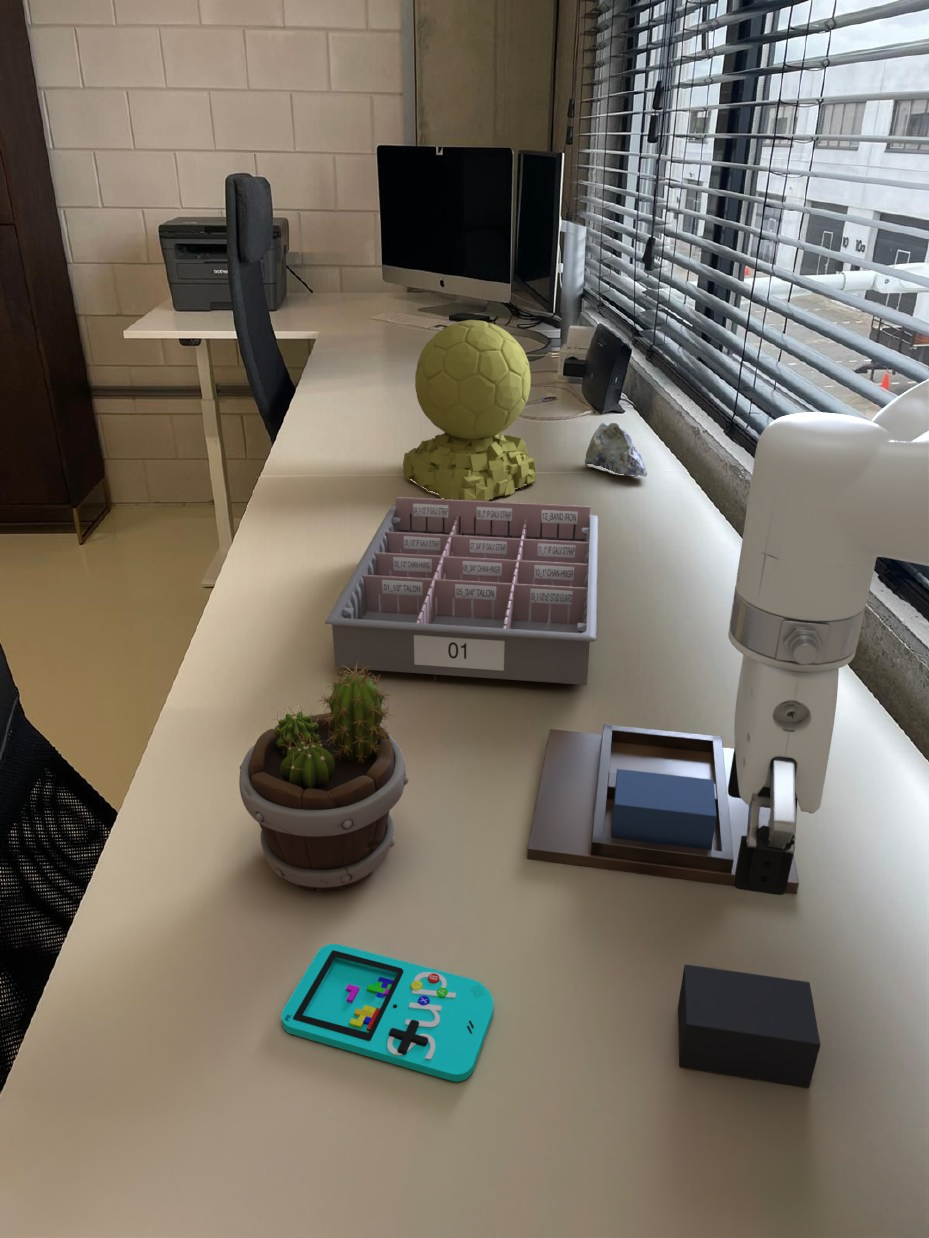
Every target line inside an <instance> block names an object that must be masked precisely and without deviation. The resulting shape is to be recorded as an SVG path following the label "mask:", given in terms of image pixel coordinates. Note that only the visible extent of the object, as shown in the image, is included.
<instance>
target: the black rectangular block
mask: <svg viewBox="0 0 929 1238" xmlns="http://www.w3.org/2000/svg"><path fill="white" fill-rule="evenodd" d="M677 1025H678V1028H677V1029H678V1066H679V1068H681V1069H682V1068H683V1069H688V1070H689V1069H690V1070H694V1071H701V1072H708V1073H712V1074H713V1073H714V1074H719V1075H727V1076H731V1077H737V1078H738V1077H739V1078H744V1079H750V1080H757V1081H763V1082H769V1083H776V1084H782V1085H786V1086H787V1085H788V1086H795V1087H800V1088H807V1089H810V1087H811V1083H812V1079H813V1075H814V1071H815V1067H816V1063H817V1059H818V1056H819V1053H820V1048H821V1041H820V1035H819V1028H818V1022H817V1017H816V1011H815V1005H814V1000H813V993H812V989H811V983H810V982H809V981H804V980H797V979H790V978H785V977H783V978H782V977H776V976H770V975H762V974H755V973H749V972H742V971H736V970H735V971H734V970H728V969H723V968H716V967H715V968H714V967H707V966H700V965H695V964H694V965H693V964H687V963H685V964H684V965H683V972H682V979H681V984H680V990H679V998H678V1004H677Z"/></svg>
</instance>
